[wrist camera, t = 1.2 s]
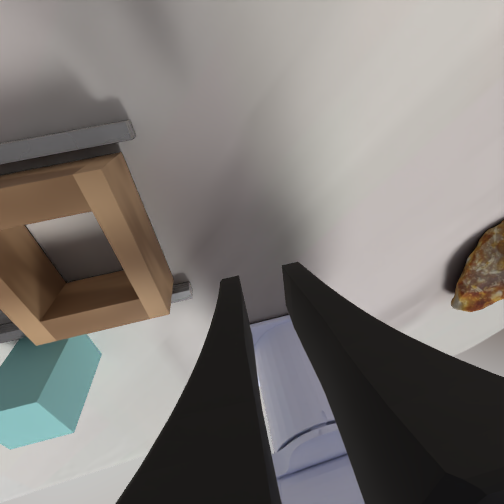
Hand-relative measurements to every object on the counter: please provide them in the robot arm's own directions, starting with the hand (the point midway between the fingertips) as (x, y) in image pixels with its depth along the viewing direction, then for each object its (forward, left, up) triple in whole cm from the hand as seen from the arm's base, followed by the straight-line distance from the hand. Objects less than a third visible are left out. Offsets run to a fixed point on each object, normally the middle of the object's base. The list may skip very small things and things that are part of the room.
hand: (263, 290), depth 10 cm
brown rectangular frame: (0, +9, -8) cm, 13 cm away
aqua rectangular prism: (-8, +15, -8) cm, 20 cm away
